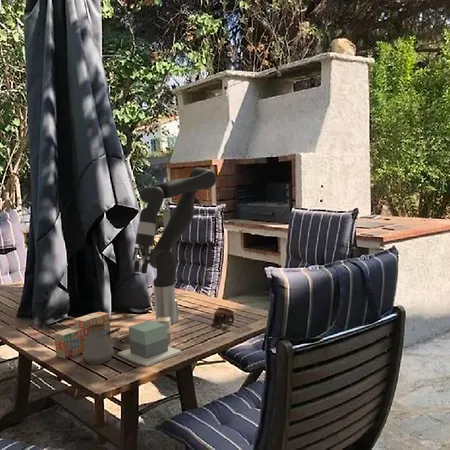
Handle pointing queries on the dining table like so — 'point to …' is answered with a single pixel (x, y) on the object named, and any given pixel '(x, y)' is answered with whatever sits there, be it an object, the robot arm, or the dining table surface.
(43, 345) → the dining table surface
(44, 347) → the dining table surface
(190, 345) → the dining table surface
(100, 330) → the coffee pot
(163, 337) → the tower base
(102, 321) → the stack of blocks
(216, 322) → the brown toy animal
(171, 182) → the robot arm
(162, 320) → the cream brick
